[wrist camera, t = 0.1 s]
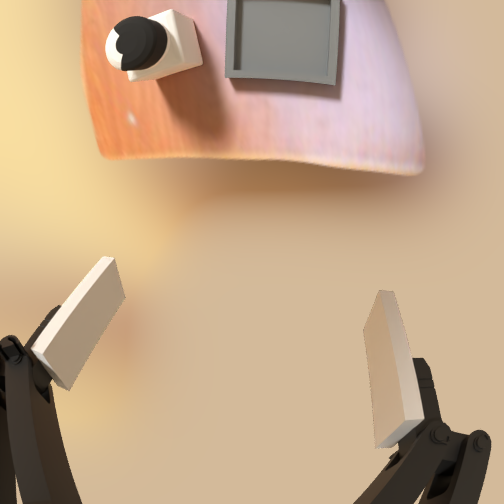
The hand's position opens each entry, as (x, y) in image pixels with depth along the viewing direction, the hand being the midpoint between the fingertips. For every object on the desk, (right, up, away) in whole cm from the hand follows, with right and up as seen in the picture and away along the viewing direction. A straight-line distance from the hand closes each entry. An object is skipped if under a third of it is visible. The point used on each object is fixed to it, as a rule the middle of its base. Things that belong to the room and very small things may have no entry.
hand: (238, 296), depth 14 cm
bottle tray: (+4, +29, +14) cm, 32 cm away
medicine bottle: (-9, +29, +17) cm, 35 cm away
